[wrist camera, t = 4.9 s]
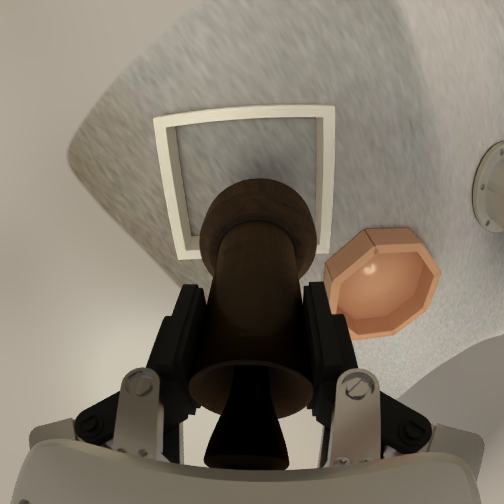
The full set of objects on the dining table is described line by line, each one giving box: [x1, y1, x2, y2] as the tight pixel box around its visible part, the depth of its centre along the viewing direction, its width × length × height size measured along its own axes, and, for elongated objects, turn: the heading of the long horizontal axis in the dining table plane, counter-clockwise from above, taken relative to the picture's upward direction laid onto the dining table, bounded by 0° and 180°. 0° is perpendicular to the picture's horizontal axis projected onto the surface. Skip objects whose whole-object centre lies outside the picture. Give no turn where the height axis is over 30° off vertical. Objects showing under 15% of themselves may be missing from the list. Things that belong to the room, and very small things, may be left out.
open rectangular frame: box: [153, 104, 335, 260], centre depth 26 cm, size 15×14×3 cm
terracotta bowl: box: [324, 228, 441, 340], centre depth 32 cm, size 14×14×4 cm
